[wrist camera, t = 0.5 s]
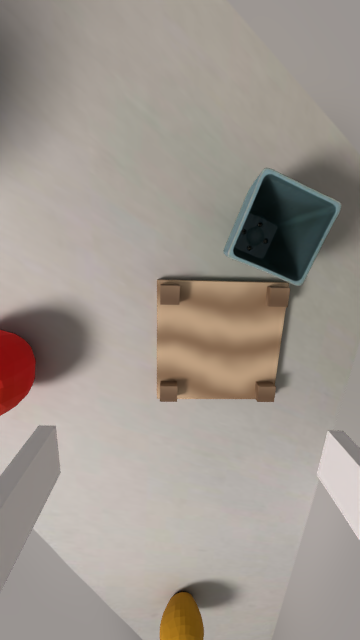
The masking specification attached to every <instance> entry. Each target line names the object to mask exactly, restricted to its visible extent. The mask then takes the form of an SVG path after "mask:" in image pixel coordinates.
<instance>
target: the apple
mask: <svg viewBox="0 0 360 640" xmlns="http://www.w3.org/2000/svg"><path fill="white" fill-rule="evenodd" d="M203 637H204V627H203V622H202V617H201V614H200V611H199V609H198V606H197V604H196V602H195V600H194V599H193V597H192V595H191V594H189V593H187V592H180V593H177V594H175V595H174V596H173V597H172V598H171V599H170V601H169V603H168V604H167V607H166V609H165V611H164V613H163V616H162V620H161V624H160V640H203Z"/></svg>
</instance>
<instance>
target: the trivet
mask: <svg viewBox="0 0 360 640" xmlns="http://www.w3.org/2000/svg"><path fill="white" fill-rule="evenodd" d="M289 293H290V288H289V283H287V282H254V281H208V280H163V279H158V280H157V399H160V402H177V399H256V400H257V402H274V397H275V390H276V386H275V379H276V372H277V365H278V358H279V351H280V344H281V337H282V330H283V323H284V316H285V309H286V307H288V300H289Z"/></svg>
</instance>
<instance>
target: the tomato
mask: <svg viewBox="0 0 360 640" xmlns="http://www.w3.org/2000/svg"><path fill="white" fill-rule="evenodd" d="M35 362H36V361H35V358H34V354H33V351H32V348H31V347H30V345H29V344H28V343H27V342H26V341H25V340H24V339H23V338H21V337H19V336H18V335H16V334H14V333H10V332H6V331H3V330H0V416H1V415H2V414H4V413H6V412H7V411H9V410H11V409H12V408H14V407H15V406H17V405H18V403H19V402H20V401H21V400H22V399H23V398H24V397H25V396H26V395H27V394H28V393H29V391H30V389H31V387H32V385H33V382H34V379H35Z"/></svg>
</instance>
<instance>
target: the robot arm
mask: <svg viewBox="0 0 360 640" xmlns="http://www.w3.org/2000/svg"><path fill="white" fill-rule="evenodd" d="M59 475H60V463H59V453H58V443H57V434H56V426H38V427H37V429H36V430H35V431H34V433H33V434H32V435H31V437H30V438H29V439H28V440H27V442H26V443H25V444H24V446H23V447H22V448H21V450H20V451H19V452H18V454H17V455H16V456H15V457H14V459H13V460H12V461H11V463H10V464H9V465H8V467H7V468H6V469H5V471H4V472H3V473H2V475H1V476H0V592H1V590H2V588H3V586H4V584H5V582H6V580H7V578H8V576H9V574H10V572H11V570H12V568H13V566H14V564H15V562H16V560H17V558H18V556H19V554H20V552H21V550H22V548H23V546H24V544H25V542H26V540H27V538H28V536H29V534H30V533H31V531H32V529H33V527H34V525H35V523H36V521H37V519H38V517H39V515H40V513H41V511H42V509H43V507H44V505H45V503H46V501H47V499H48V497H49V495H50V493H51V491H52V489H53V487H54V485H55V483H56V481H57V479H58V477H59ZM317 476H318V477H319V479H320V480H321V482H322V483H323V485H324V486H325V488H326V490H327V491H328V492H329V494H330V496H331V497H332V499H333V500H334V502H335V503H336V505H337V506H338V508H339V509H340V511H341V512H342V514H343V516H344V517H345V519H346V520H347V522H348V523H349V525H350V526H351V528H352V529H353V531H354V532H355V534H356V535H357V537H358V538H359V540H360V448H359V447H358V446H357V445H356V444H355V443H354V442H353V441H352V440H351V438H350V437H349V436H348V435H347V434H346V433H345V432H344V431H333V430H328V432H327V436H326V440H325V444H324V448H323V452H322V456H321V461H320V465H319V469H318V473H317Z"/></svg>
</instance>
